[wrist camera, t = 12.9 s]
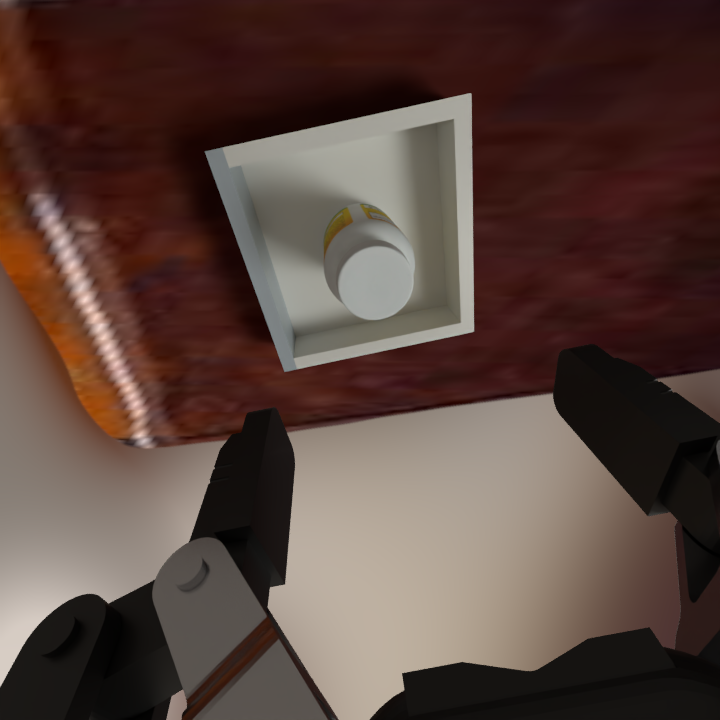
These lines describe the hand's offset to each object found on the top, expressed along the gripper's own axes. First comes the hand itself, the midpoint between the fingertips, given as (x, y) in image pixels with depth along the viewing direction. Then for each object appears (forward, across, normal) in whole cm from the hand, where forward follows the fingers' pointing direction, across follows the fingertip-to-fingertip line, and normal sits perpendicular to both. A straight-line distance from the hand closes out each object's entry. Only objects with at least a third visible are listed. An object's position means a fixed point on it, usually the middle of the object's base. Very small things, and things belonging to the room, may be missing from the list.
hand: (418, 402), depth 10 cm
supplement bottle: (+19, 0, 0) cm, 19 cm away
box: (+20, 0, 0) cm, 20 cm away
